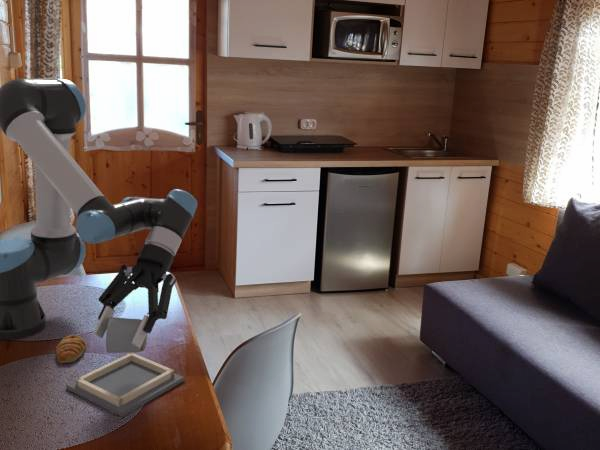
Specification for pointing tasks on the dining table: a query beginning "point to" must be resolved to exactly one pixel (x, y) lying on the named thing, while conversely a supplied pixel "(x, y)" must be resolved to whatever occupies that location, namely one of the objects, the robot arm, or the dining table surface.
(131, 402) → the tray
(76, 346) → the pastry
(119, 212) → the robot arm
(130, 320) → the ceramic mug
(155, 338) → the dining table surface
